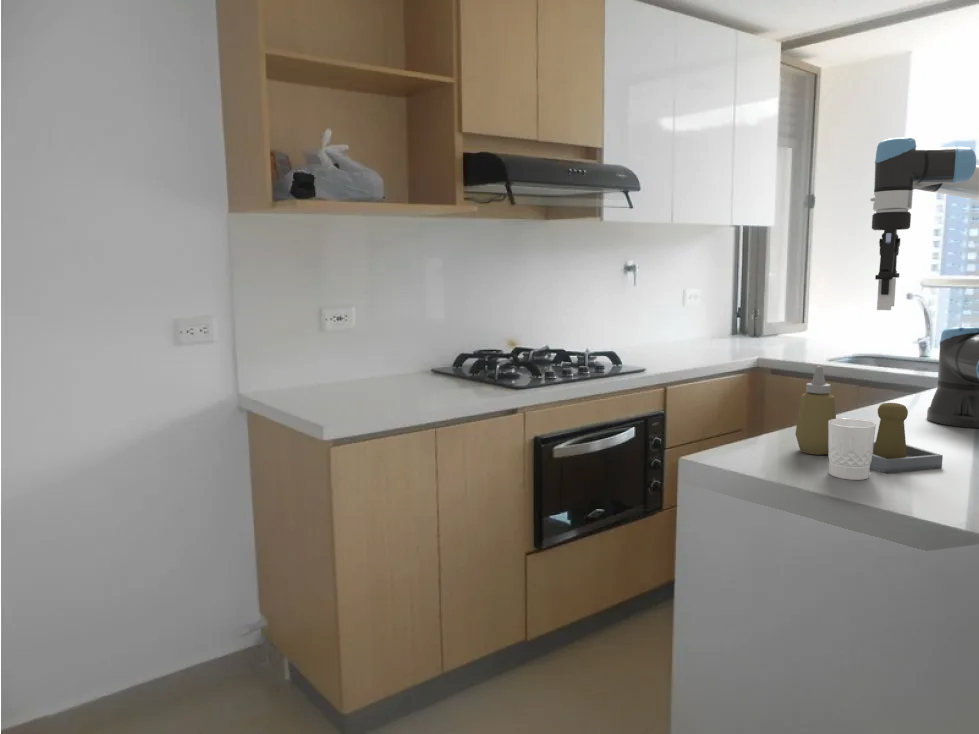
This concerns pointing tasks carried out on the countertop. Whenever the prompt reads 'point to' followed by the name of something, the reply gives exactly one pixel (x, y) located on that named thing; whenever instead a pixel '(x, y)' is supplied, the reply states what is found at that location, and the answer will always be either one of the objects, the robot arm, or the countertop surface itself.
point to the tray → (907, 461)
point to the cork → (891, 431)
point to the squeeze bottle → (815, 415)
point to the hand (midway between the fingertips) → (885, 308)
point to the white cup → (850, 448)
